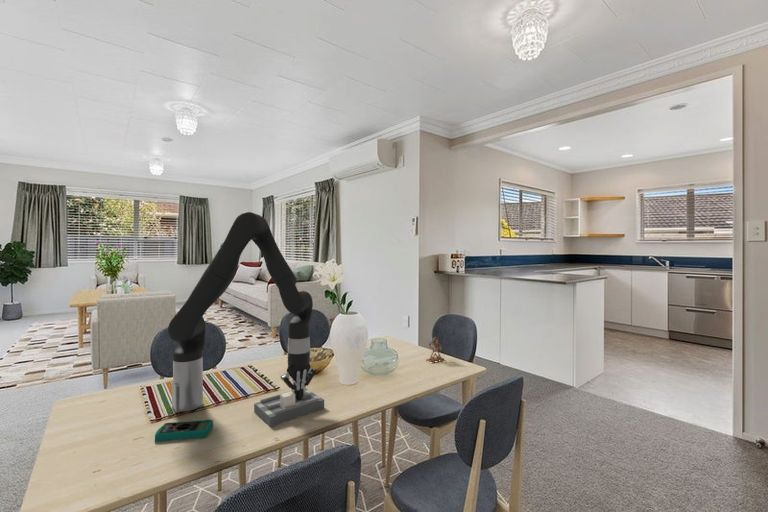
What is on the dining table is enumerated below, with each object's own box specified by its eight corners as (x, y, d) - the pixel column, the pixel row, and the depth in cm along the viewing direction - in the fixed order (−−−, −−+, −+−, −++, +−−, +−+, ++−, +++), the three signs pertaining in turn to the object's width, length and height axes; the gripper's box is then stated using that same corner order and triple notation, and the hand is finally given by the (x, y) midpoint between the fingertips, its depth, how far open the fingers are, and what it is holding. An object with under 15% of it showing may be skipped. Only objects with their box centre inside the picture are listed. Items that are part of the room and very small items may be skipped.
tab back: (295, 396, 128) (295, 385, 128) (291, 394, 130) (291, 383, 130) (305, 393, 130) (305, 383, 130) (301, 391, 133) (301, 380, 133)
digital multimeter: (163, 430, 111) (163, 421, 111) (214, 426, 114) (214, 417, 114) (152, 443, 104) (152, 434, 104) (206, 439, 107) (206, 429, 106)
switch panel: (270, 426, 113) (270, 414, 113) (254, 412, 123) (254, 400, 123) (324, 408, 126) (324, 397, 126) (306, 396, 136) (306, 385, 136)
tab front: (284, 409, 118) (284, 397, 118) (280, 406, 121) (280, 394, 120) (295, 405, 121) (295, 394, 121) (290, 402, 123) (290, 391, 123)
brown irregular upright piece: (439, 358, 183) (439, 335, 183) (444, 360, 180) (445, 336, 179) (425, 361, 178) (426, 337, 178) (430, 363, 175) (431, 339, 175)
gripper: (310, 343, 130) (310, 390, 131) (276, 350, 121) (275, 400, 122) (321, 348, 125) (321, 397, 125) (286, 356, 116) (286, 408, 116)
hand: (298, 399), depth 124 cm, fingers closed
